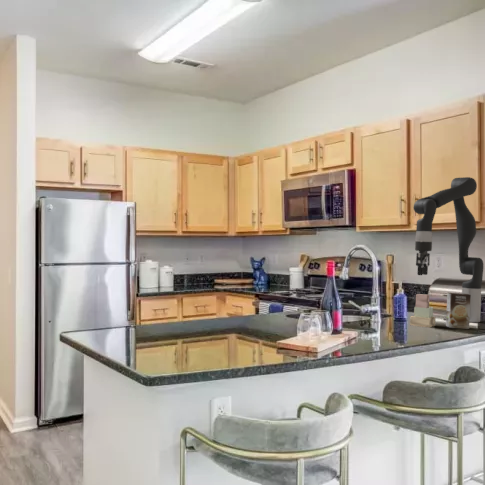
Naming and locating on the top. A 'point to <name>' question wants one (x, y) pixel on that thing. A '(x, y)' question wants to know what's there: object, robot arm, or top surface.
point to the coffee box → (458, 310)
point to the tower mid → (423, 312)
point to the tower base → (422, 321)
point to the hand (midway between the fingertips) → (422, 274)
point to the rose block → (422, 300)
